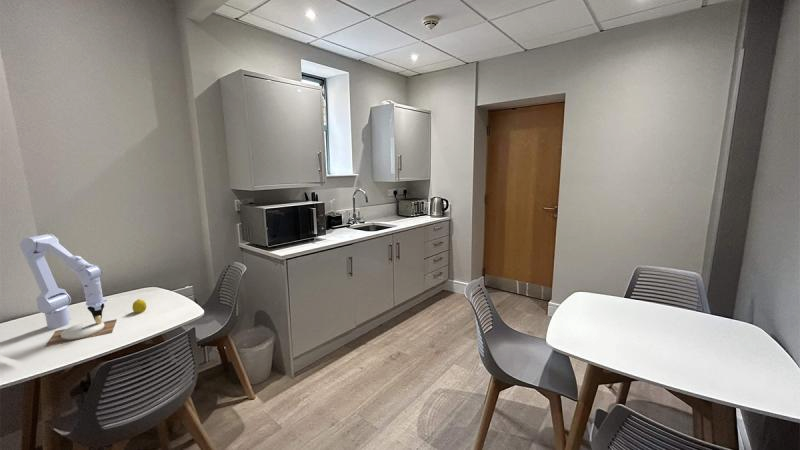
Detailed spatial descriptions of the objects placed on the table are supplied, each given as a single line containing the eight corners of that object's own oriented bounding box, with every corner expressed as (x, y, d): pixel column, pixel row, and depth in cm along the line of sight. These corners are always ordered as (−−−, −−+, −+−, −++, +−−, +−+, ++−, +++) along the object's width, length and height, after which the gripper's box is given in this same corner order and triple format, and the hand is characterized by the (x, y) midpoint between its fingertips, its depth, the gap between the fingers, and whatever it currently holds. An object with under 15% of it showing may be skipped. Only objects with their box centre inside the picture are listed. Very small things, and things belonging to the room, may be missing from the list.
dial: (68, 343, 136) (66, 331, 135) (55, 334, 143) (53, 323, 142) (110, 328, 148) (108, 318, 147) (96, 321, 155) (95, 311, 154)
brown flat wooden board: (56, 333, 146) (55, 330, 146) (117, 322, 158) (116, 318, 158) (44, 350, 133) (44, 346, 133) (112, 336, 145) (111, 332, 145)
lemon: (139, 316, 164) (137, 301, 162) (130, 315, 165) (128, 300, 163) (150, 312, 169) (148, 297, 168) (141, 311, 170) (139, 296, 169)
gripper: (107, 294, 147) (112, 322, 149) (102, 286, 156) (106, 312, 158) (86, 298, 141) (91, 327, 144) (82, 290, 151) (87, 317, 153)
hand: (98, 320), depth 151 cm, fingers closed, pressing on dial
